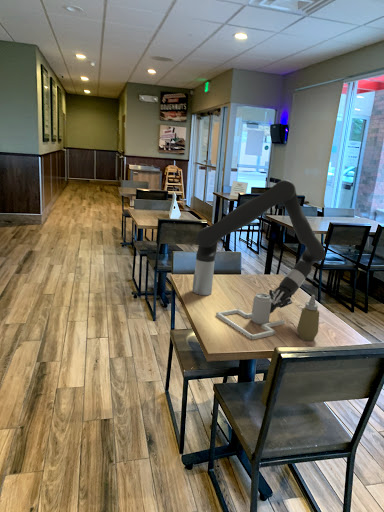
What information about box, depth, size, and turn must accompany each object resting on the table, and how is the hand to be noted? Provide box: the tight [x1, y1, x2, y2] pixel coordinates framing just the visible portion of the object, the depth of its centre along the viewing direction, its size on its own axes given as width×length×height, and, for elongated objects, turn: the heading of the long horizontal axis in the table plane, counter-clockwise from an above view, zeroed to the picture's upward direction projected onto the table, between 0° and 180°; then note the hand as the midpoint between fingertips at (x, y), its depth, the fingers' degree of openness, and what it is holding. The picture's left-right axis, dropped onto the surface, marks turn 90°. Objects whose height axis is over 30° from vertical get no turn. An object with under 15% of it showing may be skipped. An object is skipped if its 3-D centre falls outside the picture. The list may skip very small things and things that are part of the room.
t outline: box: [215, 308, 285, 340], centre depth 164 cm, size 23×24×2 cm
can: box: [250, 292, 272, 325], centre depth 164 cm, size 8×8×12 cm
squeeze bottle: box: [296, 294, 320, 342], centre depth 151 cm, size 8×8×18 cm
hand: (268, 311), depth 167 cm, fingers closed
